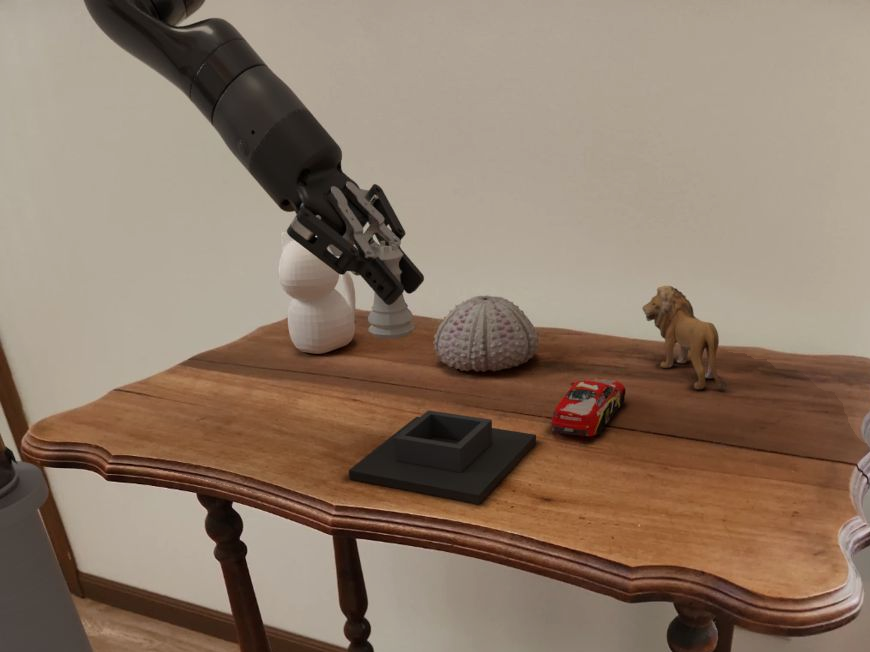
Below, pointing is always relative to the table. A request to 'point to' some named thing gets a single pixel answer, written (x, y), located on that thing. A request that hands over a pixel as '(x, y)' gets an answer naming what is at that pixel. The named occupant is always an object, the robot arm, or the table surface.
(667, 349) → the lion figurine
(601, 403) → the race car
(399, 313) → the rook chess piece
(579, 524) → the table surface
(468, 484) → the socket pad
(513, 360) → the sea urchin shell
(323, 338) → the cat figurine
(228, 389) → the table surface
